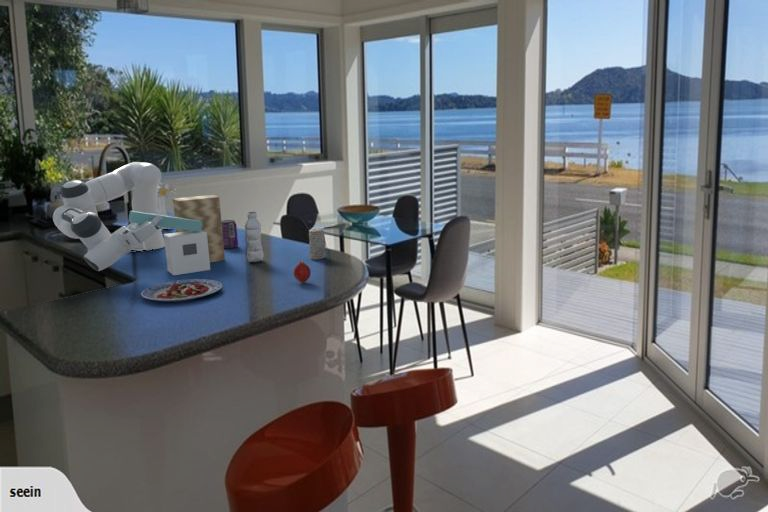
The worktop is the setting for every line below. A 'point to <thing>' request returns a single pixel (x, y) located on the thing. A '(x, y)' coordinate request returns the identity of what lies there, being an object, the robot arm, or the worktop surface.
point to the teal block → (166, 221)
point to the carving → (317, 244)
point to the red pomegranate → (302, 272)
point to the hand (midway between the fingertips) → (159, 215)
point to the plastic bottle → (253, 238)
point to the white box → (187, 252)
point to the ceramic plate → (181, 290)
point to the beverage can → (229, 233)
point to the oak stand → (204, 220)
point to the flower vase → (162, 195)
